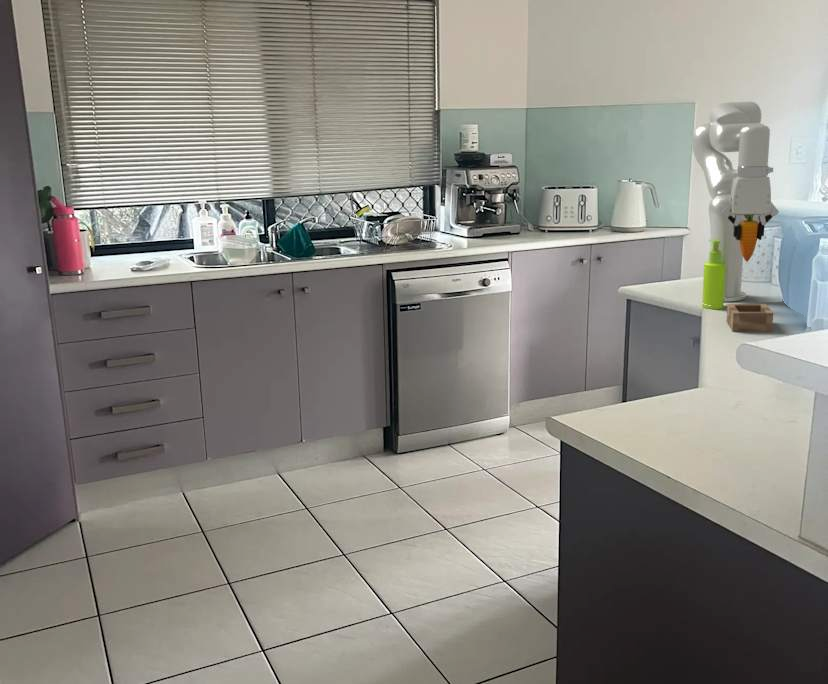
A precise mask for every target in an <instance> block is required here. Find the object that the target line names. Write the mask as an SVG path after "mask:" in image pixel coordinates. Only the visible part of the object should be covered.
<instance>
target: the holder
mask: <svg viewBox="0 0 828 684" xmlns="http://www.w3.org/2000/svg"><path fill="white" fill-rule="evenodd" d="M726 323H727V325H728V326H729V328H730V330H731V332H773V325H774V324H773V323H774V312H773V311H772V309H770V307H769V306H768V305H767V304H766V303H728V304H727V305H726Z"/></svg>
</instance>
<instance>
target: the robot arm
mask: <svg viewBox="0 0 828 684" xmlns="http://www.w3.org/2000/svg"><path fill="white" fill-rule="evenodd" d="M761 122H762V110H761V108H760V106H759V104H758V103H756V102H755V101H734V102H723V103H719V104H717V105H715V106H714V107H712V109H711V111H710V114H709V123H705V124H704V123H703V124H701V125H699V126H697V127H696V128H695V129H694V130H693V133H692V137H691V146H692V147H691V148H692V151H693V154H694V155H693V156H694V157H695V160H696V161H697V164H699V166H700V168H701V169H702V172H703V174H704V178H705V183H706V186H707V187H706V188H707V189H708V193H709V195H710V197H711V200H710V202H709V203H708V204H709V205H708V216H709V225H710V226H709V227H710V239H718V240H719V241H720V244H719V251H721V262H723V263H725V281H724V300H723V303H724V302H725V303H729V302H730V303H731V302H740V301H742V300H745V299H746V298H747V294H746V292H744V291H742V283H743V282H742V280H743V279H742V278H743V277H742V276H743V265H744V263H743V262H744V261H743V260H744V257H743V255H742V252H741V248H740V241H739V240H740V229H741V226H740V223H741V222H743V221H745V220H747V219H746V217H745V216H744V215H753V214H754V216H753V221H756V222H758V224H759V226H758V237H757V240H759V241H760V240H762V239H763V238H762V237H764V236H765V226H766V224H767V223H768V222H769V221H770V220H771V219H772V218H774V217H775V216H776V215H778V214H779V213H780V212H779V210H778V208H777V207H776V206H775V205H774V203H773V202H772V189H771V186H772V185H771V180H770V176H769V174H770V173H774V167H770V166H769V151H770V135H771V129H770V127H769V126H767V125H766V124H763V123H761ZM736 152H738V159H737V169H734V167H733V163H732V161H731V160H730V159H729V158H728V156H726V155H725V154H724V153H736ZM754 211H755V212H754ZM709 242H710V246H709V247H710V249H709V252H710V251H711V250H712V248H713V243H712V242H711V241H709Z"/></svg>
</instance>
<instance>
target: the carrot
mask: <svg viewBox="0 0 828 684" xmlns="http://www.w3.org/2000/svg"><path fill="white" fill-rule="evenodd" d="M754 212H755V211H754ZM744 216H745V217H746V219H747V220H745V221H743V222H741V223H740V226H741V229H740V240H739V241H740V248H741V252H742V255H743V260H744V261H746V262H748V261H749V260H750V259H751V258H752V256H753V254H754V251H755V250H756V245H757V242H758V238H757V237H758V226H759V224H758V222H756V221H753V216H754V214H753V215H744Z"/></svg>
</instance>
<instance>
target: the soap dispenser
mask: <svg viewBox="0 0 828 684" xmlns="http://www.w3.org/2000/svg"><path fill="white" fill-rule="evenodd" d="M709 242H712V243H713V248H712V250H711V251H710V250H709V253H708V261H706V262H704V263H703V279H702V280H703V283H702V301H701V306H702V308H703V309H707V310H719V309H723V308H724V302H723V300H724V281H725V263H723V262H721V251H719V244H720V241H719V240H718V239H711V238H710V239H709ZM702 302H703V303H704V304H707V305H704V304H702ZM708 305H711V306H708Z"/></svg>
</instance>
